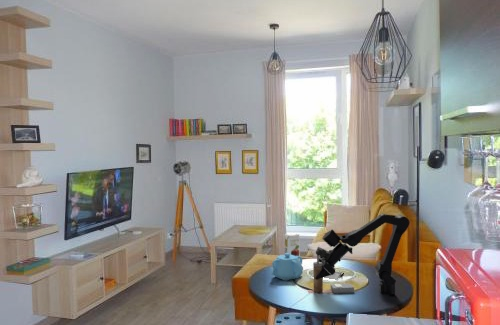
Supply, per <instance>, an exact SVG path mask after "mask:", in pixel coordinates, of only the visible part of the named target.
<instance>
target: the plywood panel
mask: <svg viewBox="0 0 500 325" xmlns="http://www.w3.org/2000/svg"><path fill="white" fill-rule="evenodd" d="M306 291H307V293H308V294H316V293H315V292H314V289H313V290H310V289H309V290H306ZM326 293H327V294H328V293H330V294H331V293H332V294H334V293H333V291H332V290H331V289H323V292H322V293H321V294H326Z"/></svg>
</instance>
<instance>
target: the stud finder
mask: <svg viewBox="0 0 500 325" xmlns="http://www.w3.org/2000/svg"><path fill="white" fill-rule="evenodd" d="M330 290H332V291H333V293H332V294H347V293H351V294H352V293H355V287H354V285H353V284H351V283H347V282H346V283H330Z"/></svg>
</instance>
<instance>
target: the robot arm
mask: <svg viewBox="0 0 500 325" xmlns="http://www.w3.org/2000/svg"><path fill="white" fill-rule="evenodd" d="M384 224H388V225H389V224H390V225H392V229H391V230H392V231H391V235H390V237H389V240H388V243H387V246H386V248H385V251H384V254H383V257H382V259H381V260H380V261H379V260H377V261H376V265H375V266H374V269H375V274H376V276H378V278H379V279H380V280H379V284H378V292H379V293H380V294H386V295H388V296H389V297H397V294H396V282H397V280H396V279H395V277H394V276H392V273H393V272H392V271H393V261H394V258H395V255H396V253H397V250H398V246H400V245H399V244H400V241H401V239H402V236H403V235H404V234H405V233H406V232H407V230H408V228H409V227H410V219H409V218H408V217H406V216H404V215H402V214H396V215H393V214H386V213H380V214H379V215H378V216H376V217H374V218H373V219H372V220H371V221H369V222H367V223H366V224H364V225H363V226H361V227H360V228H357V229H353V230H352V231H351V230H350V231H349V232H346V233H345V234H342V235H338V234H337V232H335V230H334V229H332V228H331V229H330V230H329V231H327V232H326V233H324V235H322V240H323V241H324V243H326V244H327V245H328V246H329V247H331V248H332V247H333V249H329V250H327V249H324V248H322V247H320V246H318V247H317V248H316V251H315V255H316V256H317V255H318V256H319V262H322V263H323V264H322V265H323V266H322V265H321V270H320V272H319V273H318V274H317V276H316V277H315V279H316V280H317V279H320V278H323V277H326V276H331V275H333V274H334V273H335V270H336V269H335V267H336V264H337V263H338V262H339V263H340V262H341V261H342V260H341V259H342V258H343V257H344V256H345V255H346V254H348V253H350V254H351V255H353V247H356V246H357V245H359V243H361V242H362V240H363V239H364V238H365V237H366V236H367V235H369V234H370V233H372V232H373V231H375V230H377V229H378V228H380V227H381V226H382V225H384Z"/></svg>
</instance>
